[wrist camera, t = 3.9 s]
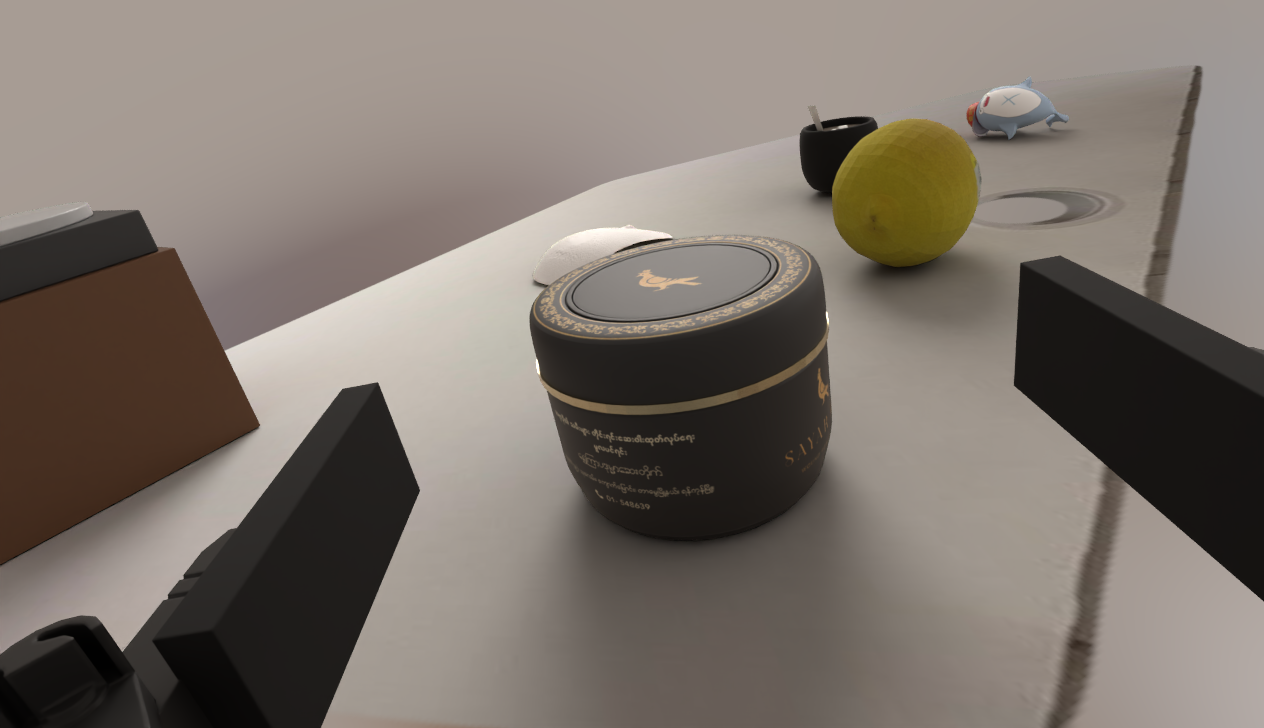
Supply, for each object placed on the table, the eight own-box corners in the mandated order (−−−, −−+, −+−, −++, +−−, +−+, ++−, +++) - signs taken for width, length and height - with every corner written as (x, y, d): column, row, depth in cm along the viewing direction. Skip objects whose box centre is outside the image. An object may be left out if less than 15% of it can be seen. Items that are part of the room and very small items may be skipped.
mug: (851, 202, 55) (846, 103, 52) (786, 199, 59) (778, 108, 56) (928, 163, 61) (928, 73, 58) (865, 163, 66) (861, 79, 63)
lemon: (939, 298, 36) (940, 139, 33) (804, 284, 41) (793, 146, 38) (1008, 232, 43) (1015, 94, 39) (884, 227, 48) (881, 105, 44)
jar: (802, 583, 20) (778, 347, 17) (522, 532, 25) (460, 339, 22) (859, 407, 28) (849, 223, 25) (638, 394, 33) (605, 236, 29)
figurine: (1072, 120, 64) (1060, 125, 61) (981, 147, 69) (966, 152, 66) (1062, 65, 63) (1049, 67, 60) (971, 96, 68) (955, 99, 65)
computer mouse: (681, 233, 55) (677, 205, 54) (582, 290, 48) (575, 258, 47) (617, 232, 60) (612, 205, 59) (517, 283, 52) (509, 253, 51)
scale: (-10, 570, 29) (-222, 291, 24) (-64, 500, 36) (-235, 274, 31) (260, 425, 37) (148, 193, 32) (173, 392, 45) (69, 197, 39)
